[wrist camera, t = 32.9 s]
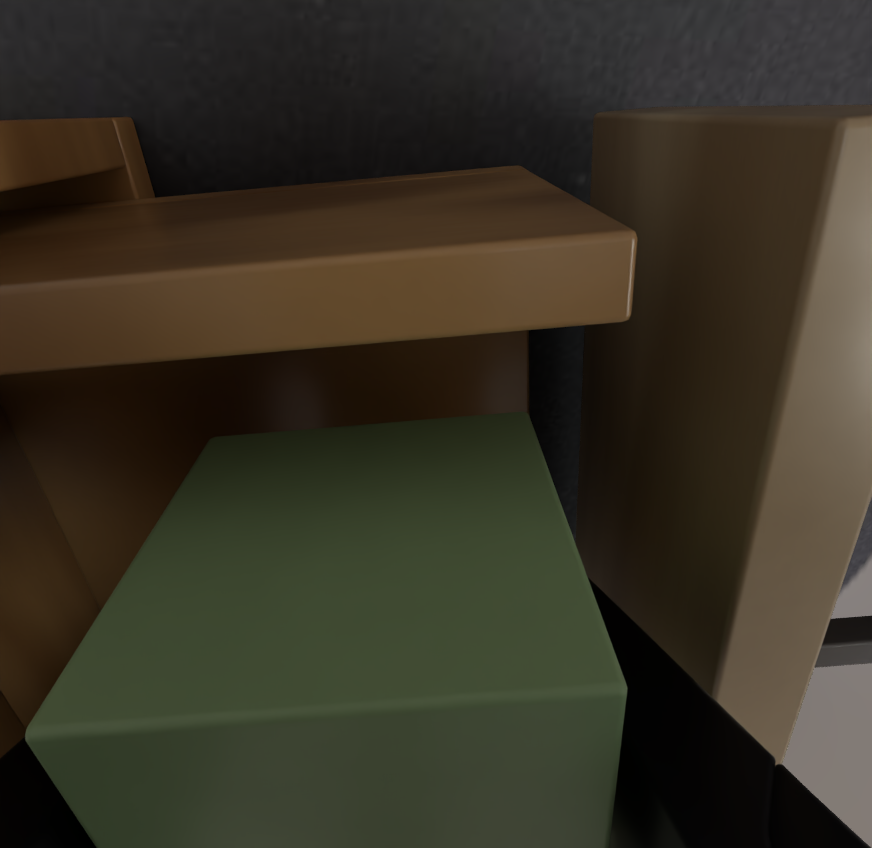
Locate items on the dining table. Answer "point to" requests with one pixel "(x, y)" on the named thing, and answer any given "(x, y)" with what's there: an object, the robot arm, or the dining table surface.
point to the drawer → (479, 371)
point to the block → (347, 654)
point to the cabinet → (66, 203)
